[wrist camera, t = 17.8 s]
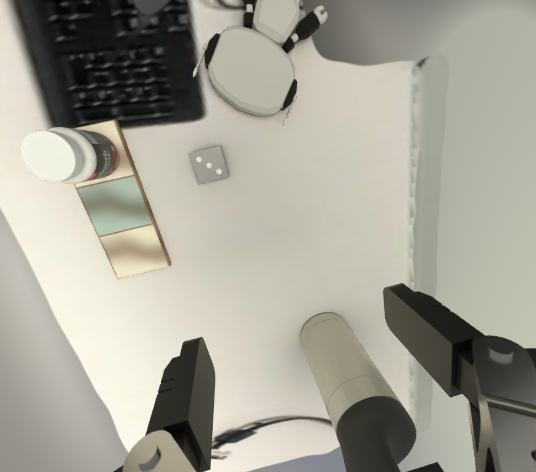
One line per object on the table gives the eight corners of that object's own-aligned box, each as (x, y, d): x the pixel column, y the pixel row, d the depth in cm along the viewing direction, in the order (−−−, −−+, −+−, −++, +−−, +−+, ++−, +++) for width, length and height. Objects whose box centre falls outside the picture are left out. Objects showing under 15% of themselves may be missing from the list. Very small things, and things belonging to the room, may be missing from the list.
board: (171, 263, 41) (170, 266, 40) (119, 276, 40) (117, 279, 40) (117, 120, 34) (114, 119, 33) (54, 133, 33) (49, 133, 32)
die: (228, 174, 38) (228, 177, 34) (201, 181, 38) (198, 184, 34) (220, 145, 37) (220, 145, 33) (192, 152, 37) (188, 153, 33)
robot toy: (239, -34, 32) (193, 89, 34) (242, -66, 27) (189, 77, 30) (324, 24, 35) (277, 133, 37) (339, 4, 30) (284, 129, 33)
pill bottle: (110, 185, 35) (68, 198, 26) (65, 163, 34) (3, 168, 24) (127, 146, 34) (90, 146, 25) (82, 122, 33) (23, 111, 23)
